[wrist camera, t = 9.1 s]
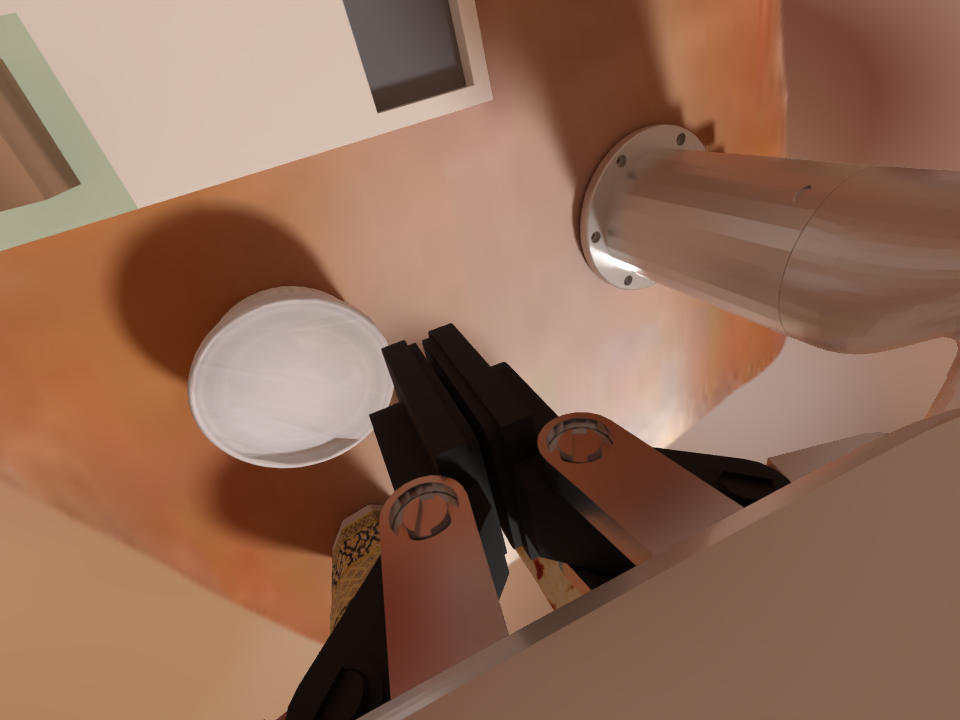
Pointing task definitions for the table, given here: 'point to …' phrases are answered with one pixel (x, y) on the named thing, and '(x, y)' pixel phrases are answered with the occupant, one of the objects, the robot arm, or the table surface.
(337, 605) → the ceramic cup
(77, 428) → the table surface
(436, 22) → the trap deck
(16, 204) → the walnut block
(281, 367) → the ramekin
